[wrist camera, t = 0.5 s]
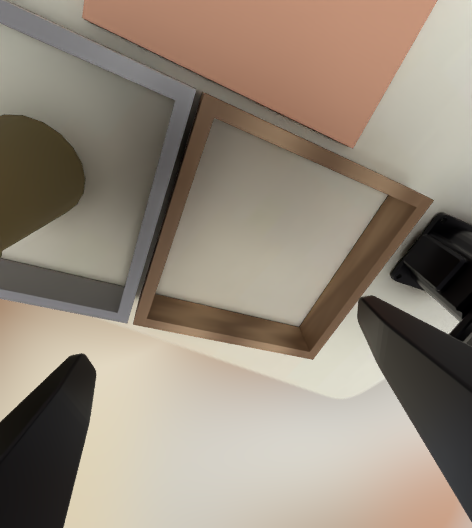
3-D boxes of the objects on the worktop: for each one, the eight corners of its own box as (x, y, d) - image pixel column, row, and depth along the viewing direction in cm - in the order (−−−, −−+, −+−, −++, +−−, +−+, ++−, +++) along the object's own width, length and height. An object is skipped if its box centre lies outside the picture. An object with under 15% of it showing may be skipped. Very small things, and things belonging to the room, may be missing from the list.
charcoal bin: (195, 88, 16) (196, 90, 14) (134, 297, 23) (127, 323, 21) (-178, -86, 12) (-280, -131, 9) (-114, 242, 19) (-162, 267, 16)
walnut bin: (405, 186, 21) (434, 200, 19) (302, 334, 28) (312, 359, 26) (202, 91, 16) (204, 93, 14) (139, 298, 24) (132, 324, 21)
